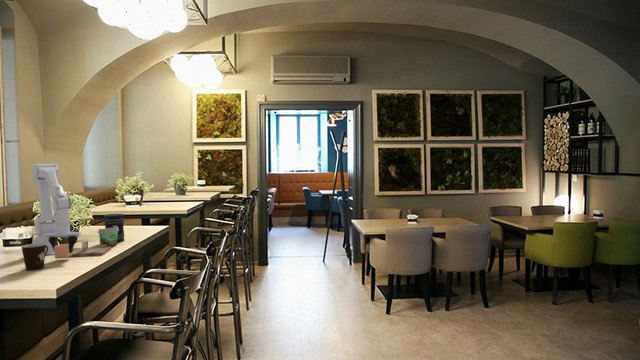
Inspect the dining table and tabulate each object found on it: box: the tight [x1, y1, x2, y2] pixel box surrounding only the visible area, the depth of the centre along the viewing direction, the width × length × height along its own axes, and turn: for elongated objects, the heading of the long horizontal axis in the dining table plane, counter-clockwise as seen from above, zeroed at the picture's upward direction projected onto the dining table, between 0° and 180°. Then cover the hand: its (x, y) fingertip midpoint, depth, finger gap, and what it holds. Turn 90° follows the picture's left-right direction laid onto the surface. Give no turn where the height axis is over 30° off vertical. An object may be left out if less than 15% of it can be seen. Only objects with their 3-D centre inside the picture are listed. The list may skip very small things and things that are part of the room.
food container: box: [97, 226, 119, 248], centre depth 235 cm, size 12×6×10 cm, turn 168°
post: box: [81, 240, 89, 251], centre depth 218 cm, size 2×2×4 cm
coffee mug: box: [21, 243, 48, 272], centre depth 190 cm, size 12×9×10 cm
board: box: [68, 246, 112, 258], centre depth 218 cm, size 20×14×2 cm
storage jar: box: [104, 213, 125, 244], centre depth 249 cm, size 10×10×15 cm
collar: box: [53, 243, 73, 259], centre depth 205 cm, size 6×6×5 cm
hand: (63, 252), depth 205 cm, fingers closed on collar, 6 cm apart
